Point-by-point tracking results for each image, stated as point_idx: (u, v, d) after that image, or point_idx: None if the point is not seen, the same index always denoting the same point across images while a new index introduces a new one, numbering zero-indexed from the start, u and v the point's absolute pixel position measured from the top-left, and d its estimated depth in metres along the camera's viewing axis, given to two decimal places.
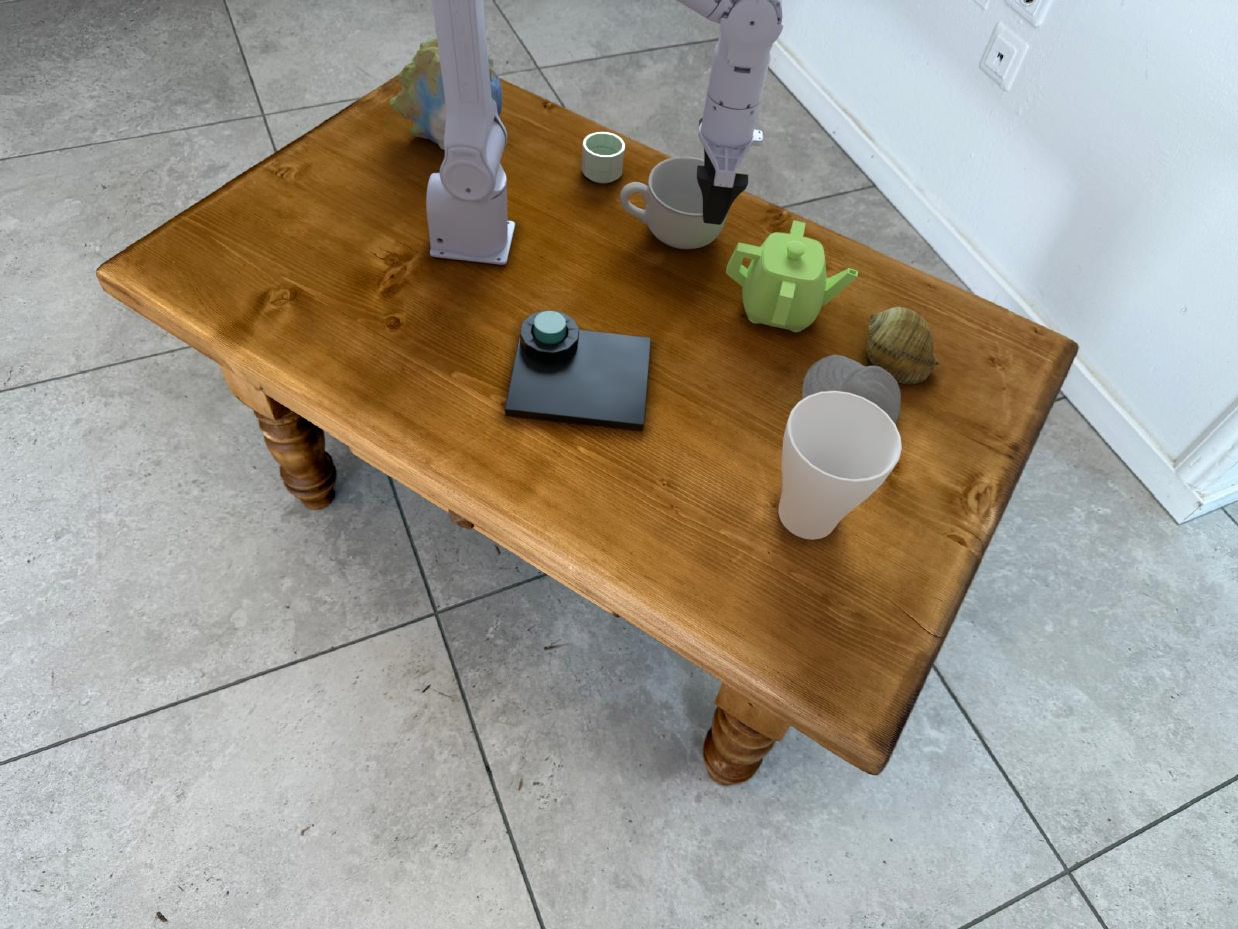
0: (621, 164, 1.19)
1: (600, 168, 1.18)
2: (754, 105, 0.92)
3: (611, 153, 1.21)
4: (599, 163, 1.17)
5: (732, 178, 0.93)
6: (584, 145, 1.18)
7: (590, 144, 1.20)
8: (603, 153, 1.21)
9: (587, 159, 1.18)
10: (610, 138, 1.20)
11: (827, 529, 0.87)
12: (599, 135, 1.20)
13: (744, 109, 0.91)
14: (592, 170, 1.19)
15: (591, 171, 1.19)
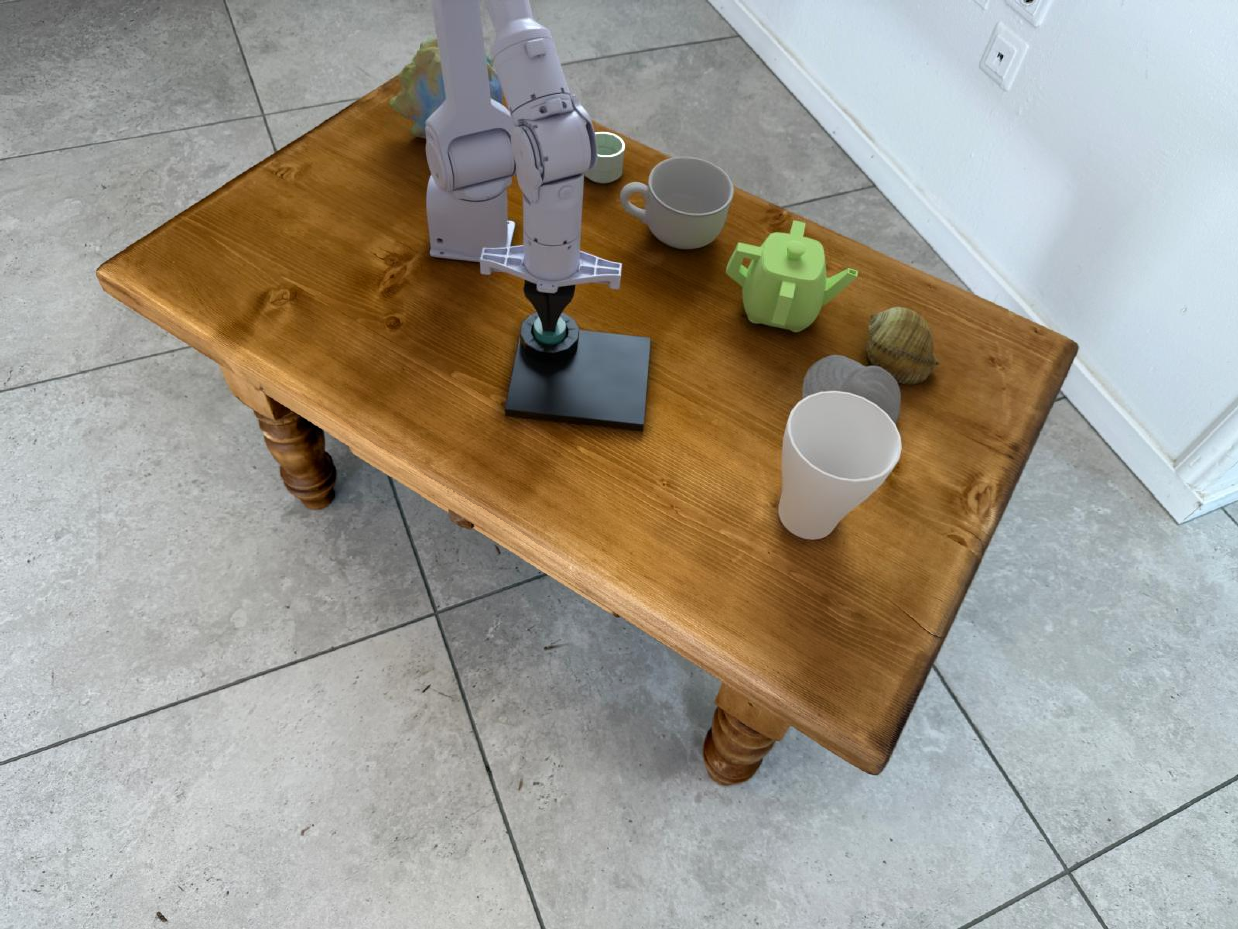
0: (621, 164, 1.19)
1: (600, 168, 1.18)
2: (529, 237, 0.86)
3: (611, 153, 1.21)
4: (599, 163, 1.17)
5: (480, 263, 0.91)
6: None
7: None
8: (603, 153, 1.21)
9: None
10: (610, 138, 1.20)
11: (827, 529, 0.87)
12: (599, 135, 1.20)
13: (524, 231, 0.87)
14: (592, 170, 1.19)
15: (591, 171, 1.19)
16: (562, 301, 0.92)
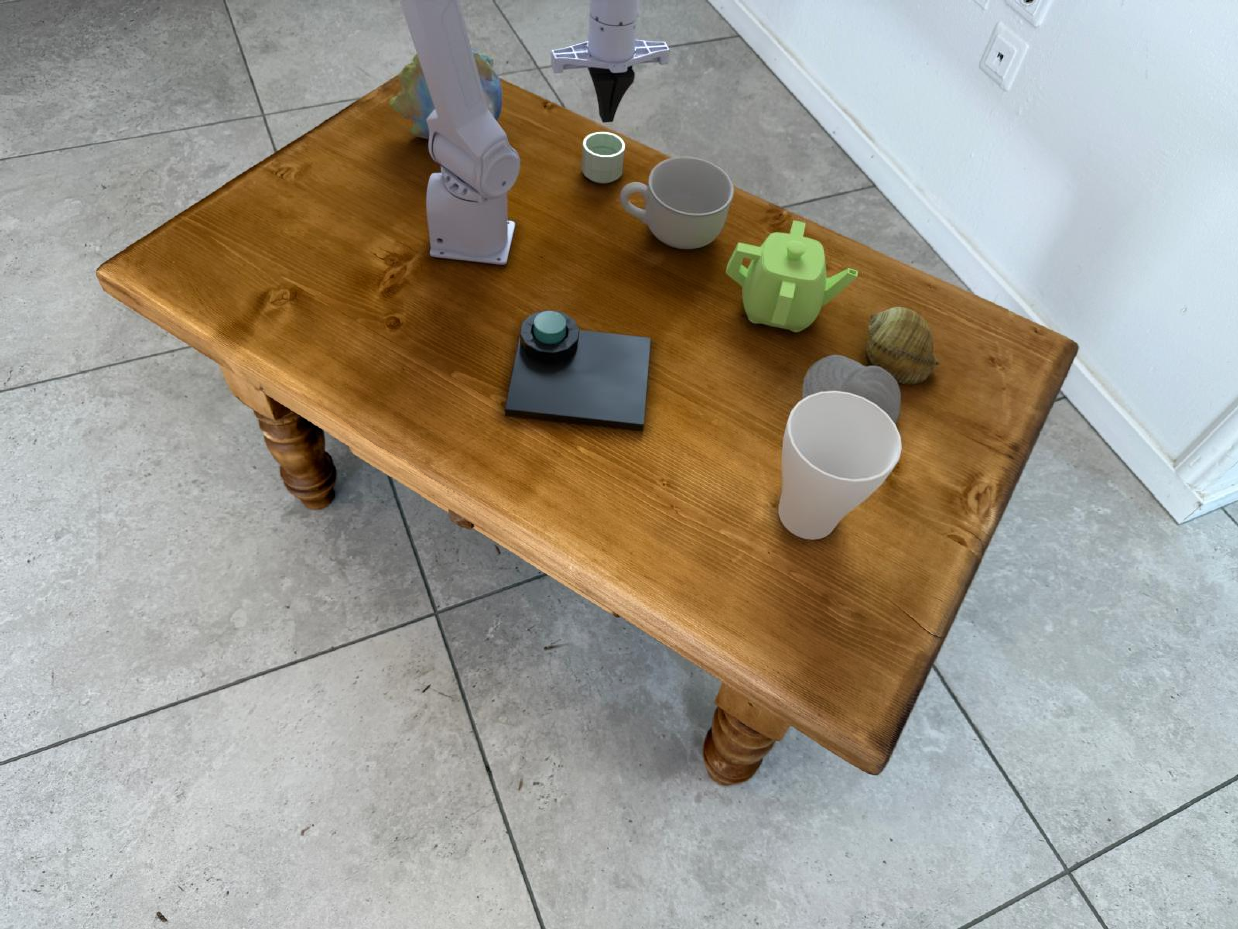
0: (621, 164, 1.19)
1: (600, 168, 1.18)
2: (602, 22, 1.02)
3: (611, 153, 1.21)
4: (599, 163, 1.17)
5: (554, 63, 1.06)
6: (584, 145, 1.18)
7: (590, 144, 1.20)
8: (603, 153, 1.21)
9: (587, 159, 1.18)
10: (610, 138, 1.20)
11: (827, 529, 0.87)
12: (599, 135, 1.20)
13: (594, 19, 1.03)
14: (592, 170, 1.19)
15: (591, 171, 1.19)
16: (626, 83, 1.09)
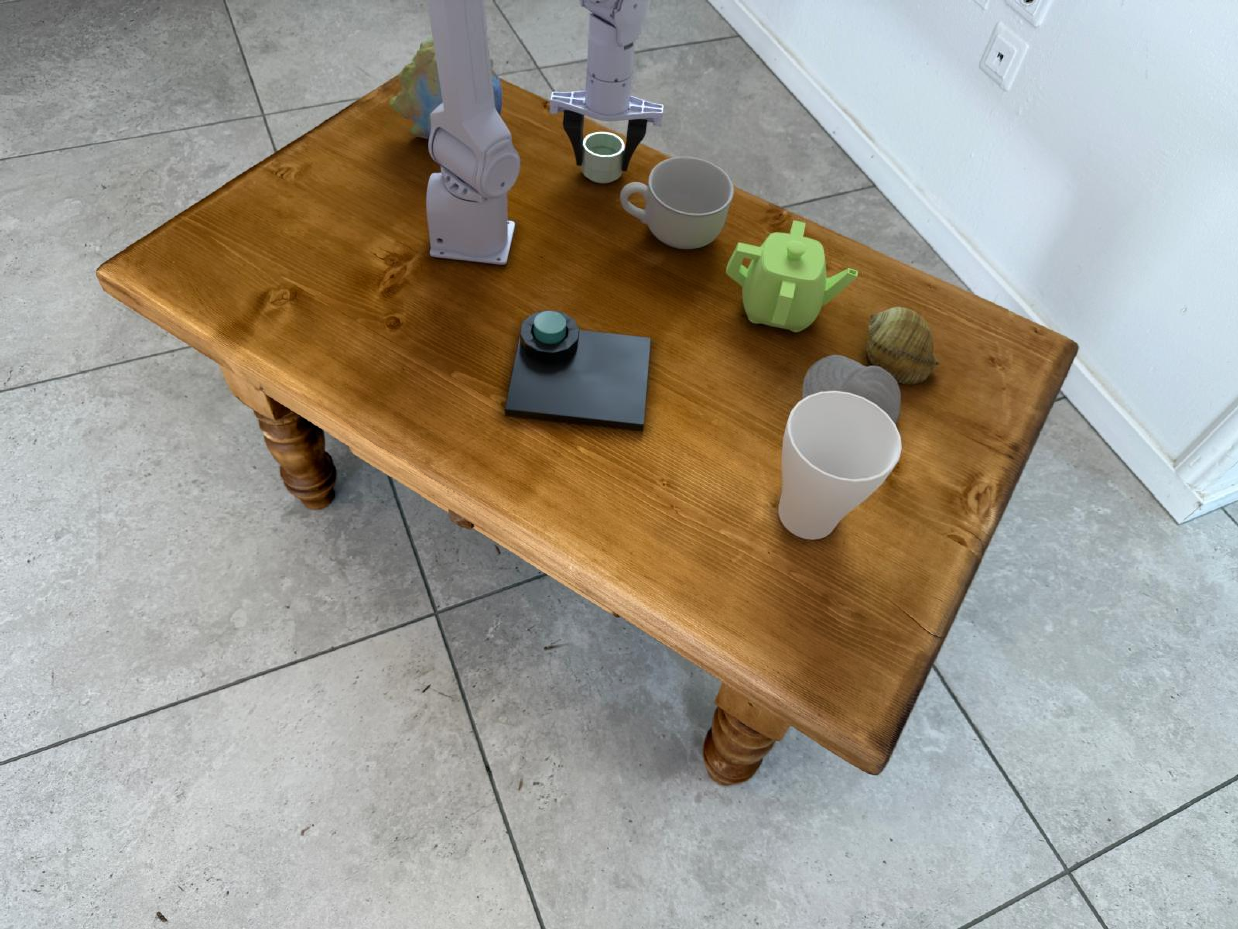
0: (621, 164, 1.19)
1: (600, 168, 1.18)
2: None
3: (611, 153, 1.21)
4: (598, 163, 1.17)
5: None
6: (584, 145, 1.18)
7: (590, 144, 1.20)
8: (602, 153, 1.21)
9: (587, 159, 1.18)
10: (610, 138, 1.20)
11: (827, 529, 0.87)
12: (598, 135, 1.20)
13: None
14: (592, 170, 1.19)
15: (590, 171, 1.19)
16: None
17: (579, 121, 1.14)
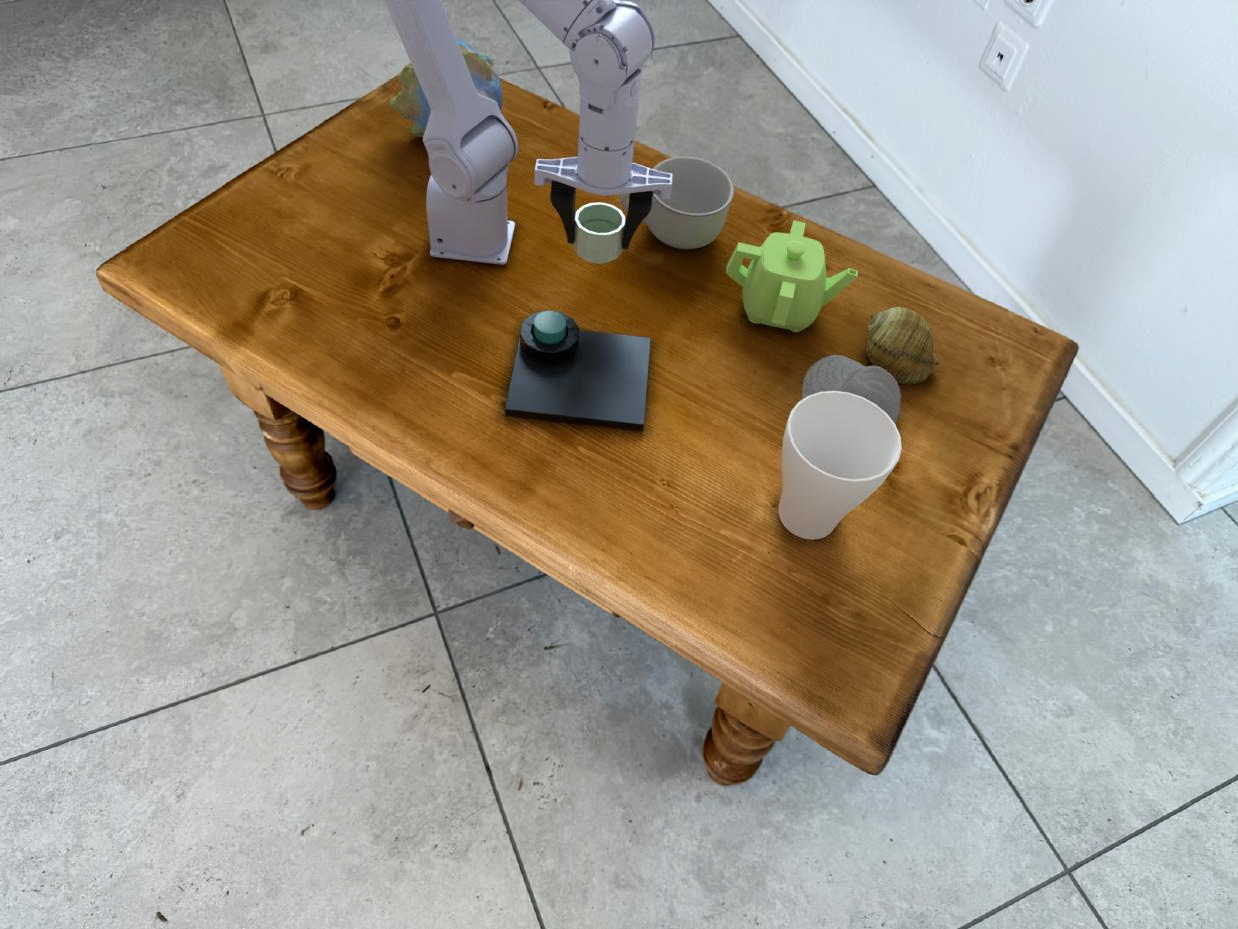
0: (621, 241, 0.99)
1: (596, 247, 0.98)
2: None
3: (609, 227, 1.01)
4: (594, 242, 0.97)
5: None
6: (576, 220, 0.98)
7: (584, 217, 1.00)
8: (599, 226, 1.01)
9: (580, 237, 0.98)
10: (607, 210, 1.00)
11: (827, 529, 0.87)
12: (594, 206, 1.00)
13: None
14: (586, 249, 0.98)
15: (584, 251, 0.99)
16: None
17: (570, 194, 0.94)
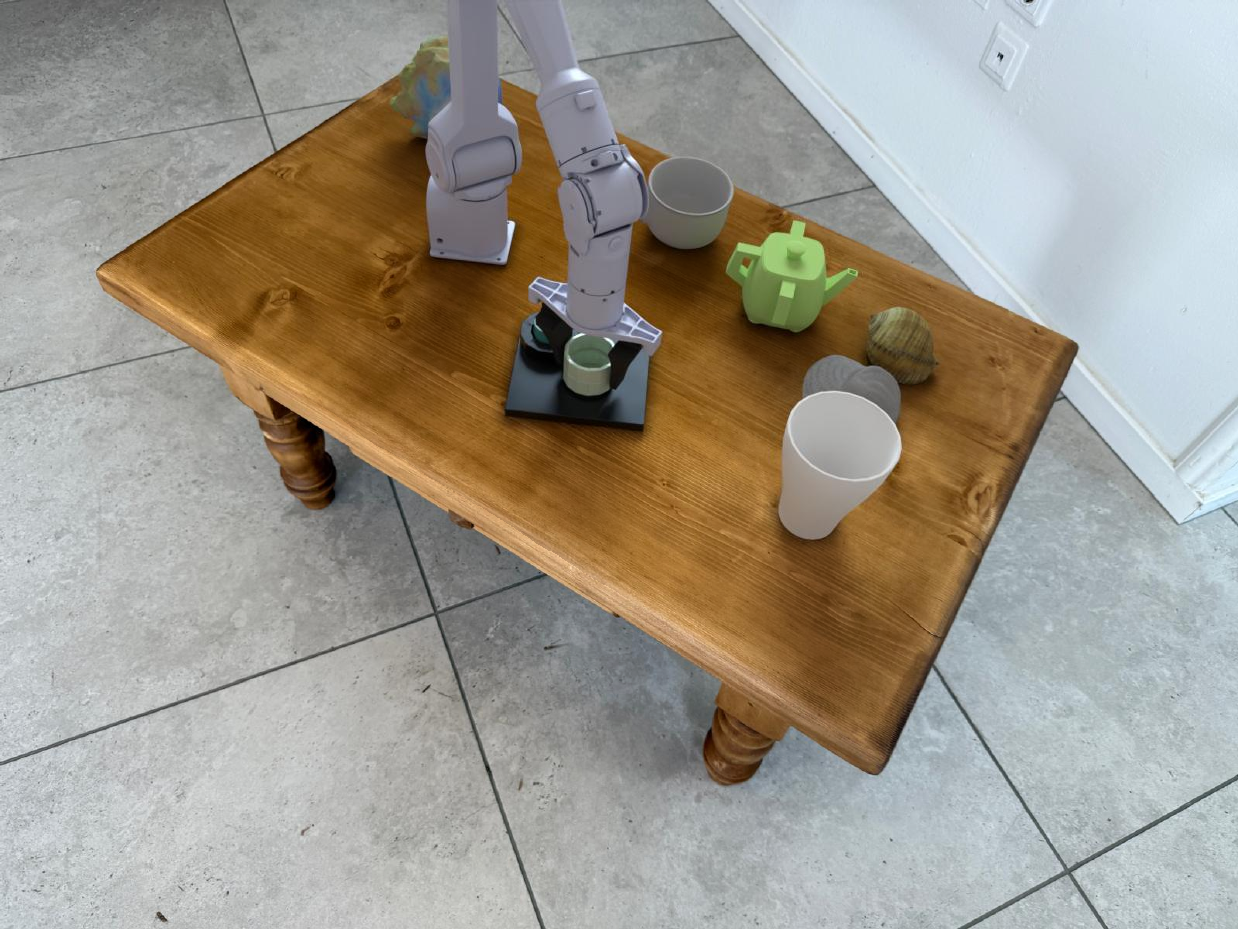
0: (606, 380, 0.95)
1: (576, 379, 0.94)
2: None
3: (605, 361, 0.97)
4: (574, 373, 0.93)
5: (661, 337, 0.88)
6: (566, 346, 0.94)
7: (582, 344, 0.96)
8: (597, 357, 0.97)
9: (565, 363, 0.94)
10: (606, 344, 0.96)
11: (827, 529, 0.87)
12: (594, 336, 0.96)
13: None
14: (568, 377, 0.95)
15: (567, 378, 0.95)
16: None
17: (557, 319, 0.91)
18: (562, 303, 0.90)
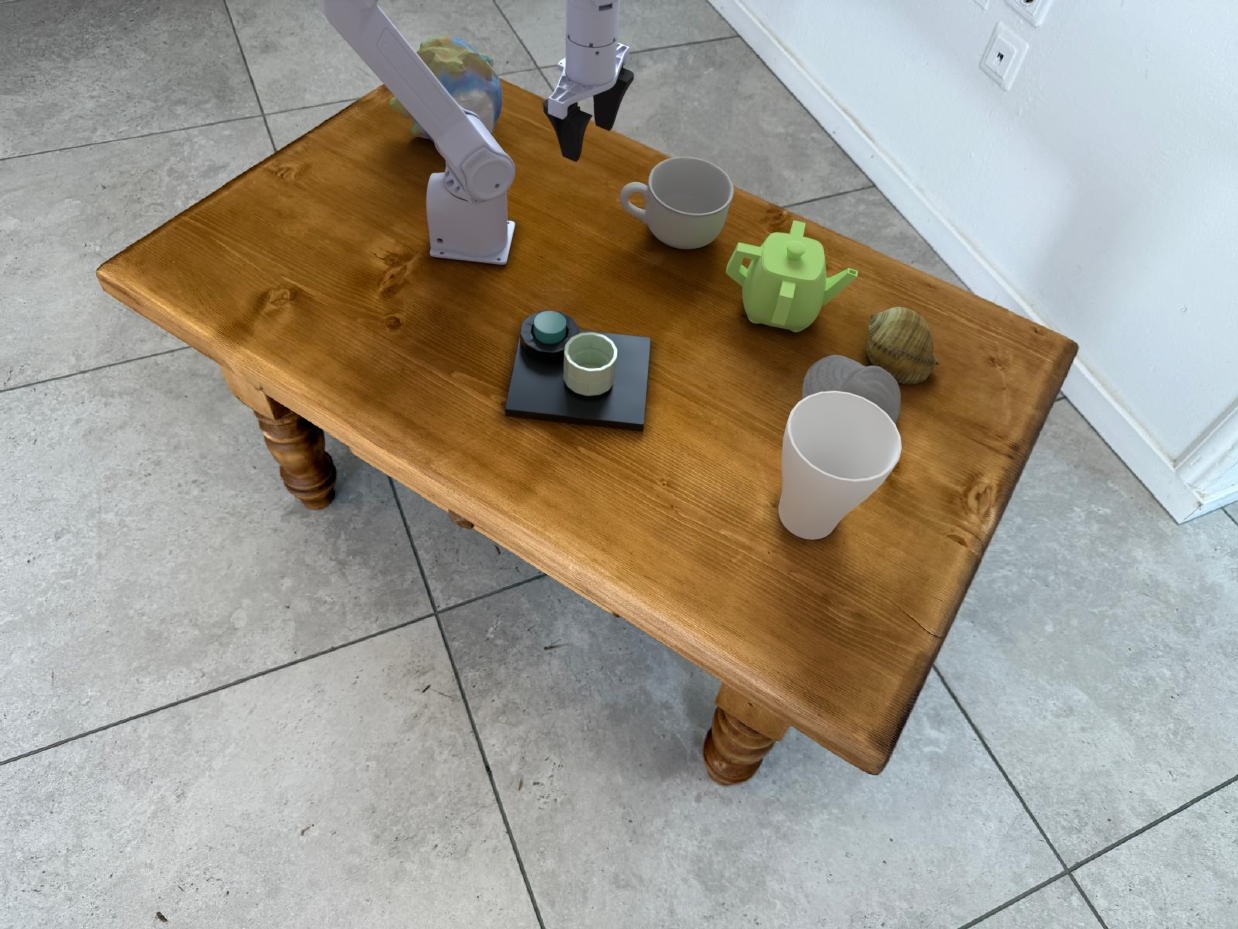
0: (606, 380, 0.95)
1: (576, 379, 0.94)
2: None
3: (605, 361, 0.97)
4: (574, 373, 0.93)
5: (616, 47, 1.05)
6: (566, 346, 0.94)
7: (582, 344, 0.96)
8: (597, 357, 0.97)
9: (565, 363, 0.94)
10: (606, 344, 0.96)
11: (827, 529, 0.87)
12: (594, 336, 0.96)
13: None
14: (568, 377, 0.95)
15: (567, 378, 0.95)
16: None
17: (580, 110, 1.00)
18: (579, 90, 0.99)
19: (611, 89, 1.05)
